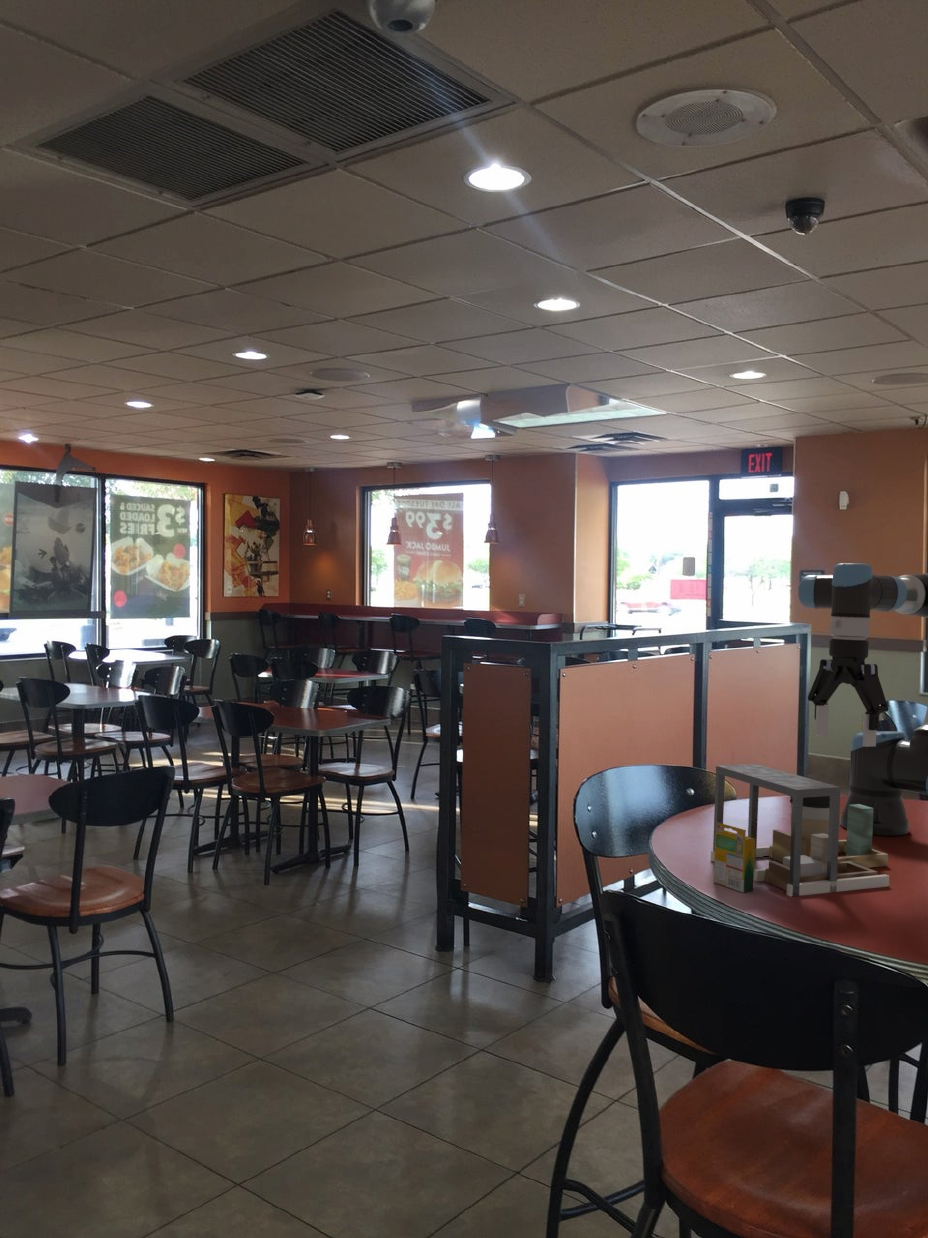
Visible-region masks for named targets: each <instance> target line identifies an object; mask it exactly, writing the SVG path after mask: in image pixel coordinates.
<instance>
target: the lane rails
mask: <svg viewBox="0 0 928 1238" xmlns="http://www.w3.org/2000/svg"><path fill="white" fill-rule="evenodd" d="M770 846H771V845H767V846H766V845H765V846H757V847H756V849H755V853H756V855H755V857H763V856H769V848H770ZM763 858H764V857H763ZM710 861H711V862H715V851H713V850H710ZM850 862H851V861H850ZM765 870H766V868H760V869H754V881H755V882H764V881H765ZM765 882H766V881H765ZM834 883H835V884H834ZM834 883H833V884H832V883H831V882H830V881H827V880H823V881H813V882H803V883H800V885H798V886H800V887H799V890H798V891H799V894H798V893H797V895H799V896H801V897H802V896H810V895H819V894H827V893H828V894H829V893H836V892H837V893H839V892H846V891H856V890H867V889H874V888H875V889H877V888H886V887H889V886H890V875H889V874H885V873H884V874H877V875H874V876H864V877H854V878H844V879H837V881H835V882H834ZM831 884H832V885H831ZM793 886H796V885H791V884H787V891H786V896H788V897H796V896H795V895H794V896H792V895H793V889H794V888H795V887H794V888H793ZM798 886H797V887H798ZM831 886H833V889H836V891H835V890H834V891H835V892H833V891H832V892H830V890H831V889H832V888H831V889H830V887H831ZM834 886H835V887H836V886H837V888H834ZM833 889H832V890H833ZM795 890H796V889H795ZM799 896H798V897H799Z"/></svg>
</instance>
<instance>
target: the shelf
mask: <svg viewBox="0 0 928 1238" xmlns="http://www.w3.org/2000/svg"><path fill="white" fill-rule="evenodd" d="M726 777H728V778H729V779H730V778H731V779H734V780H737V781H740V782H743V783H746V784H749V799H748V800H749V801H748V821H747V822H748V825H747V826H748V827H747V837H750V838H754V839H755V849H756V847H758V846H757V843H758V819H759V818H758V816H759V794H760V793H759V792H760V791H759V790H760V788H763V789H766V790H770V791H773V792H776V793H779V794H783V795H785V796H788V797H790V796H791V797H793V801H792V826H791V825H790V834H791V852H790V877H789V884H791V885H796V886H793V888H794V887H795V888H794V889H793V895H792V896H791V897H799V895H797V893H798V894H799V891H798V890H799V887H800V886H798V885H800V862H801V837H802V811H803V798H805V797H821V796H830V807H829V832H828V857H827V881H830V882H831V883H832V884H833V883H834V882H835V881H837V864H838V857H839V853H838V840H840V839H839V837H840V835H839V832H840V816H841V814H840V813H841V809H840V808H841V789H842V788H841V786H837V785H834V784H830V783H826V782H823V781H820V780H815V779H811V778H809V777H805V776H802V775H799V774H794V773H790V772H787V771H783V770H780V769H777V768H773V767H770V766H765V765H761V764H759V763H750V764H749V763H747V764H745V763H744V764H724V765H723V764H722V765H716V766H715V783H714V784H715V787H714V788H715V789H714V790H715V791H714V811H713V813H714V814H713V815H714V817H713V836H712V837H713V839H712V840H713V841H712V842H713V843H712V846H713V847H712V851H715V840H716V822H718V823H722V824H724V814H725V813H724V809H725V808H724V807H725V805H724V804H725V786H726V785H725V783H726V780H725V779H726ZM755 855H756V853H755ZM832 884H831V885H832ZM834 884H835V883H834ZM797 886H798V887H797ZM831 888H832V889H833V886H831V887H830V889H831ZM834 888H837V886H836V887H835V886H834ZM795 889H796V890H795ZM832 889H831V890H830V892H829V893H836V892H835V891H836V889H833V890H832ZM834 890H835V891H834ZM832 891H833V892H832ZM794 895H795V896H794Z"/></svg>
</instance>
